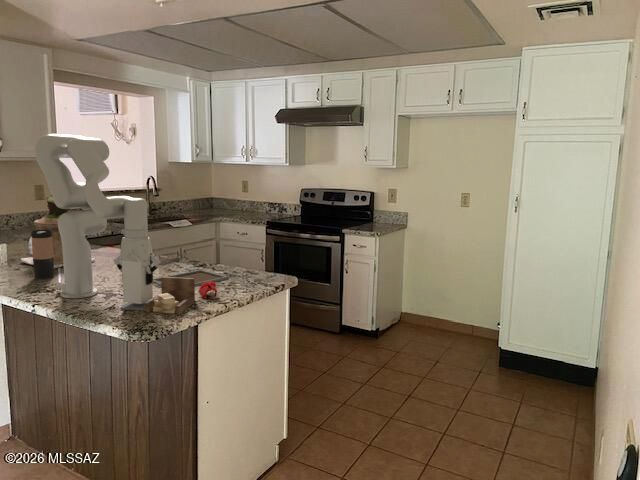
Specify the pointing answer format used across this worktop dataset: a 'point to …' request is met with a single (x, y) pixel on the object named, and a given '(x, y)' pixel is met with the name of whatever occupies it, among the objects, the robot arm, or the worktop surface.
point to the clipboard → (196, 277)
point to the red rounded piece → (207, 288)
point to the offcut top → (166, 298)
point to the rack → (176, 292)
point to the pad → (134, 306)
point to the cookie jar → (52, 224)
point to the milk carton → (135, 282)
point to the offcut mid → (166, 305)
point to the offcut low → (163, 310)
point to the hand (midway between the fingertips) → (137, 282)
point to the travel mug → (42, 254)
